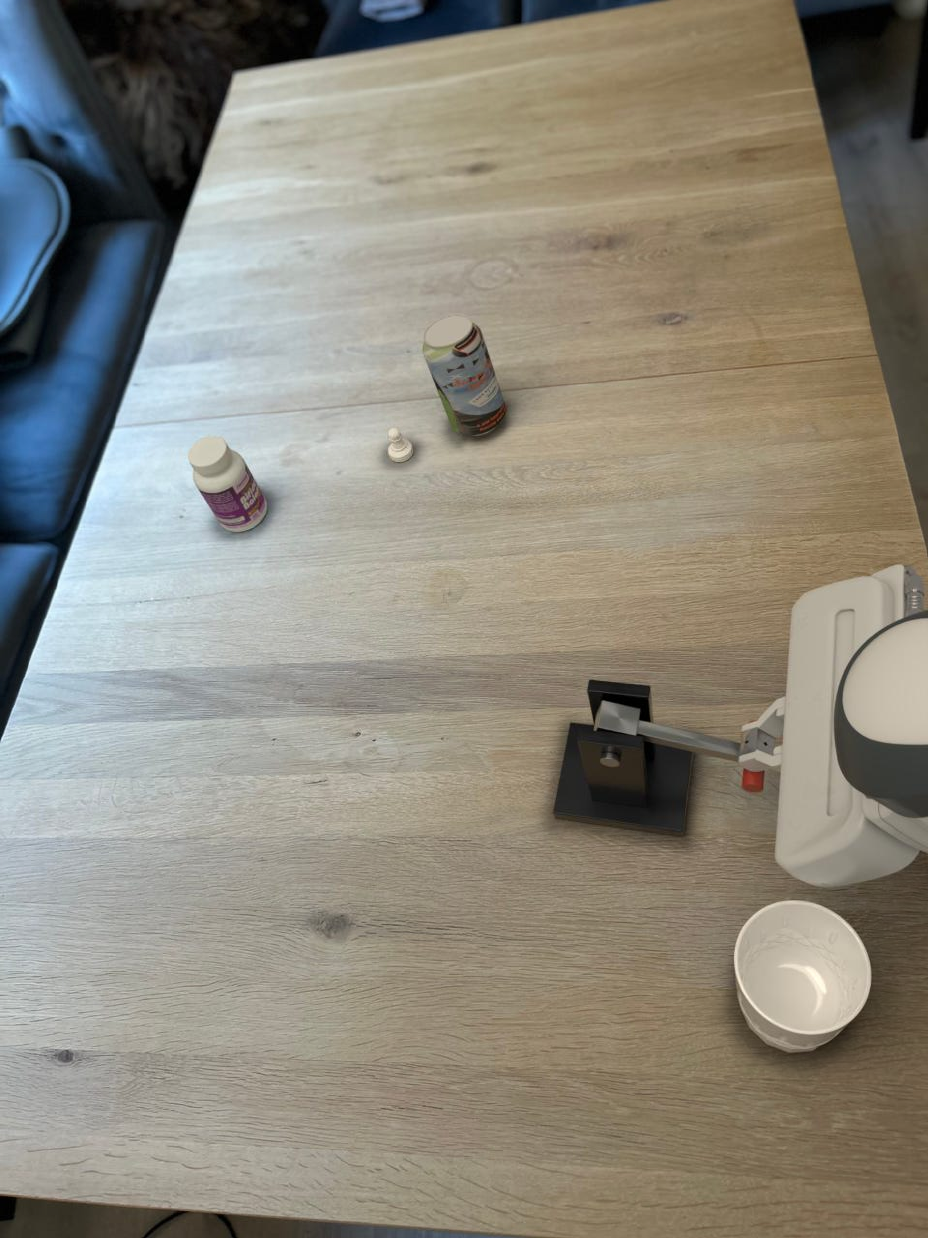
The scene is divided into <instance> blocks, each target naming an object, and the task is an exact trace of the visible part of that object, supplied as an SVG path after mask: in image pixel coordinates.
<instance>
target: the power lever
mask: <svg viewBox="0 0 928 1238" xmlns="http://www.w3.org/2000/svg"><path fill="white" fill-rule="evenodd" d="M639 716H640V708H635V707H631V706H626V705H622V704H618V703H613V702H609V701H604V700H602V701H601V704H600V706H599V709H598V712H597V714H596V720H595V726H594V731H601V732H610V733H618V734H626V735H635V736H642V737H643V741H647V742H652V743H656V744H660V745H665V746H669V747H674V748H678V749H682V750H687V751H691V752H693V753H696V754H699V755H700V754H701V755H705V756H708V757H709V756H710V757H713V758H716V759H717V758H718V759H723V760H727V761H731V762H736V763H738V761H739V751H740V742H739V741H734V740H730V739H725V738H721V737H717V736H716V737H715V736H712V735H709V734H702V733H699V732H694V731H689V730H685V729H681V728H677V727H673V726H672V727H671V726H668V725H665V724H658V723H650V722H646V721H642V720H639ZM755 721H757V720H749V722H748V723H752V722H755ZM742 768H743V767H742ZM765 771H766V770H763V771H759V772H751V771H749V770H747V769H745V768H743V769H742V781H741V788H742V790H744V791H745V792H748V793H761V792H763V791H764V787H765V786H764V783H765V774H766V773H765Z"/></svg>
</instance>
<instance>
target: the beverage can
mask: <svg viewBox="0 0 928 1238" xmlns="http://www.w3.org/2000/svg"><path fill="white" fill-rule="evenodd" d="M422 354H423V358H424V360H425V362H426V365H427V368H428V370H429V373H430V375H431V378H432V380H433V383H434V385H435V388H436V391H437V393H438V396H439V399H440V402H441V404H442V407H443V409H444V411H445V414H446V416H447V420H448V422H449V425H450V427H451V429H452V430H453V431H454V432H455V433H456V434H458V435H462V436H466V437H478V436H479V437H480V436H484V435H486V434H488V433H490V432H492V431H493V430H495V429H496V428H497V427H498V426H499V425H500V424H501V423H502V422H503V420H504V419H505V417H506V414H507V410H508V409H507V404H506V402H505V399H504V395H503V392H502V390H501V387H500V383H499V380H498V377H497V374H496V371H495V368H494V365H493V361H492V359H491V356H490V353H489V350H488V347H487V344H486V341H485V338H484V335H483V332H482V330H481V328H480V327H479V325H477V324H476V323H474V322H473V320H472V319H471V318H470V317H469V316H468V315H465V314H461V313H460V314H458V313H457V314H449V315H446V316H443V317H440V318H439V319H437V320H434V321H433V322H432V323H431V324H429V326H428V327H427V328H426V329H425V331H424V334H423V343H422Z"/></svg>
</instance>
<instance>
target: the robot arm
mask: <svg viewBox="0 0 928 1238" xmlns="http://www.w3.org/2000/svg"><path fill="white" fill-rule="evenodd" d="M925 594H926V584H925V581H924V578H923V577H922V576H921V575H919V574H918V573H917V571H916V570H915V569H914V568H913V567H912V566H910V565H906V564H899V563H898V564H894V565H891V566H889V567H885V568H884V569H881V570H879V571H876V572H875V573H873V574H871V575H862V576H856V577H852V578H847V579H843V580H839V581H836V582H832V583H829V584H826V585H822V586H819V587H817V588H814V589H811V590H808V591H806V592H804V593H802V595H801V596H800V597H799V598H798V599H797V600H796V602H795V603H794V604H793V605H792V607H791V613H790V614H791V615H790V626H789V628H790V630H789V641H788V642H789V643H788V656H787V657H788V659H787V673H786V686H785V696H782V697H778V698H776V700H774V702H773V703H772V704H771V705H770V706H769V707H768V708H767V709H766V710H765V711H764V712H763V713H762V714H761V716H760V717H759V718H758V719H757V720H756V721H755V720H754V721H755V722H752V723H749V722H747V723H745V724H742V725H741V728H740V729H741V730H740V742H739V743H740V751H739V761H738V762H737V764H738V766H740V767H742V768H745V769H747V770H749V771H751V772H759V771H763V770H765V771H766V770H767V771H768V770H773V771H776V772H778V773H780V775H779V788H778V803H777V805H778V806H777V817H776V831H775V832H776V833H775V834H776V835H775V844H774V845H775V846H774V860H775V862H776V864H777V865H778V866H779V867H780V868H782V869H783V870H784V871H785V872H786V873H787V874H789V875H790V876H791V877H794V878H796V879H798V881H801V882H803V883H805V884H807V885H810V886H813V887H816V888H821V889H822V888H824V889H827V888H837V887H843V886H850V885H854V884H860V883H863V882H869V881H871V880H872V881H873V880H875V879H881V878H883V877H886V876H890V875H893V874H895V873H898V872H899V871H901V870H903V869H905V868H906V867H907V866H909V865H911V864H912V863H913V861H914V860H915V859H916V858H917V856H918V855H919V853H920V851H921V852H922V853H923V852H924V853H925V854H928V609H925V605H924V597H925ZM781 735H782V743H781V744H782V745H778V746H776V740H777V739H778V738H779V737H780V736H781Z"/></svg>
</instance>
